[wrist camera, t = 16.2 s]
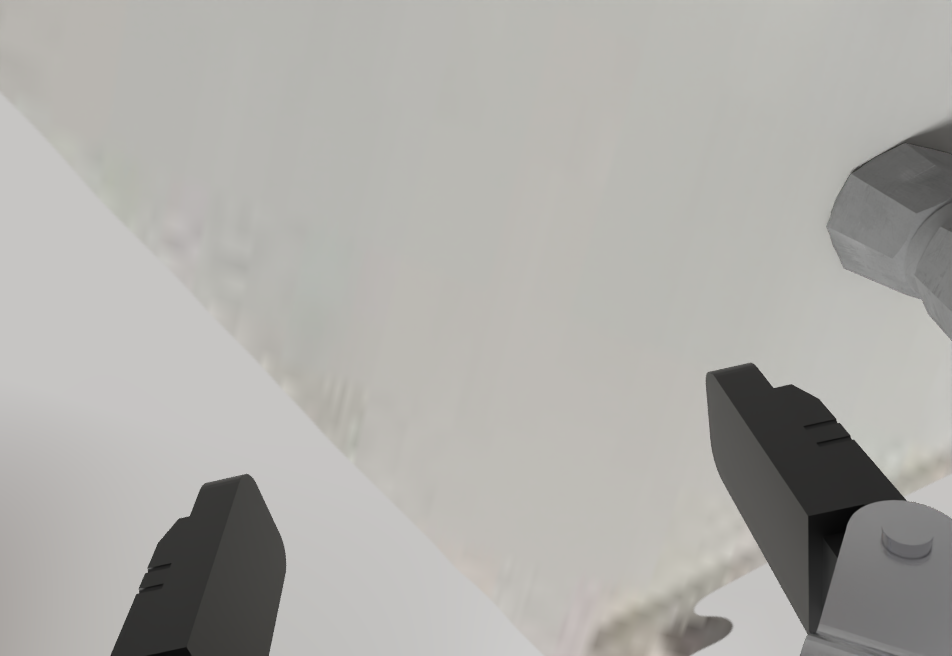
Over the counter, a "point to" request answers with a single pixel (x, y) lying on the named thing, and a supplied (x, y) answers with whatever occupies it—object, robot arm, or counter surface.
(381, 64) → the counter surface
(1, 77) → the counter surface
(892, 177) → the coffeepot
